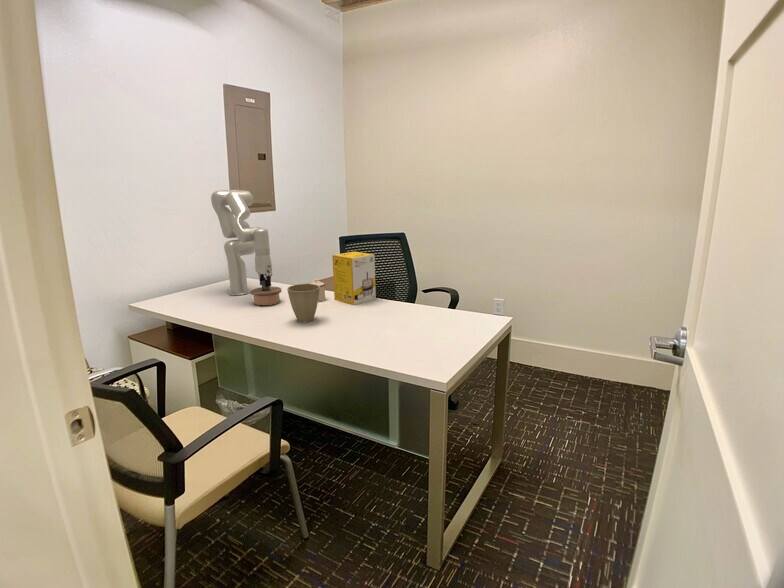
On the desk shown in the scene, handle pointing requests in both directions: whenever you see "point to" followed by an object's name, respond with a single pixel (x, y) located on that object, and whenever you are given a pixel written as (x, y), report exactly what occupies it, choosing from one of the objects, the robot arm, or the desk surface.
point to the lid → (265, 290)
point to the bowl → (266, 299)
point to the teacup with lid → (322, 289)
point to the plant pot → (304, 300)
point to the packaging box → (354, 277)
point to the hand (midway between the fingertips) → (265, 285)
